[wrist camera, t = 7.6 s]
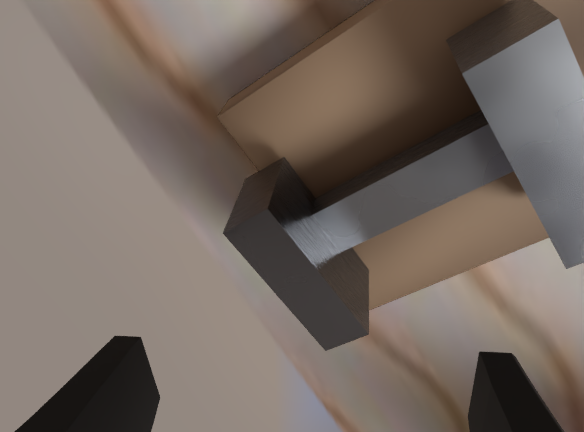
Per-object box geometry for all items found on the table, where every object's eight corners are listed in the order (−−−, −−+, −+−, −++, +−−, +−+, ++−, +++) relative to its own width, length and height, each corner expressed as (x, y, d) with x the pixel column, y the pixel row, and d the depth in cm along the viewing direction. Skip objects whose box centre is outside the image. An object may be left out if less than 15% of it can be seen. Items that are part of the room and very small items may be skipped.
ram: (606, 180, 15) (655, 241, 12) (339, 295, 18) (334, 361, 16) (522, -8, 12) (562, 21, 10) (235, 166, 16) (211, 219, 13)
